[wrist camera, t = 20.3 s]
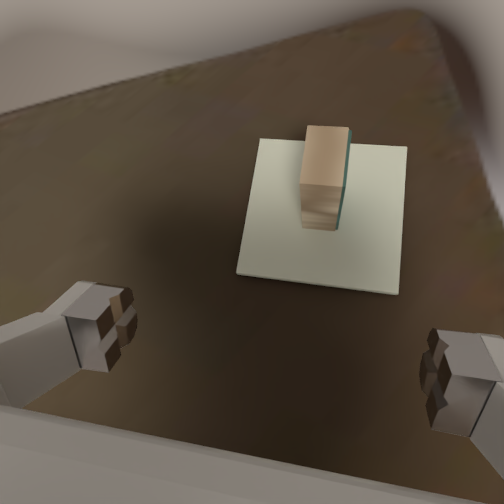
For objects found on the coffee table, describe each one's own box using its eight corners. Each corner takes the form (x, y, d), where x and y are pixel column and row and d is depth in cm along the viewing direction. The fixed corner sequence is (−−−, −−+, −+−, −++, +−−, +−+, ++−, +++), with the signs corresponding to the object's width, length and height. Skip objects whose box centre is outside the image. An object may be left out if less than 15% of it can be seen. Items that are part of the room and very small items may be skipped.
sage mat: (396, 295, 27) (398, 293, 27) (237, 274, 29) (236, 272, 29) (405, 150, 30) (407, 146, 30) (261, 142, 33) (260, 138, 32)
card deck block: (342, 184, 30) (352, 127, 23) (337, 231, 29) (345, 187, 22) (308, 182, 30) (307, 125, 23) (302, 228, 29) (299, 183, 22)
